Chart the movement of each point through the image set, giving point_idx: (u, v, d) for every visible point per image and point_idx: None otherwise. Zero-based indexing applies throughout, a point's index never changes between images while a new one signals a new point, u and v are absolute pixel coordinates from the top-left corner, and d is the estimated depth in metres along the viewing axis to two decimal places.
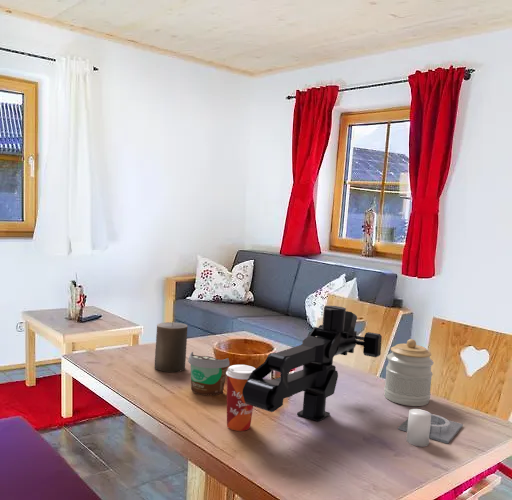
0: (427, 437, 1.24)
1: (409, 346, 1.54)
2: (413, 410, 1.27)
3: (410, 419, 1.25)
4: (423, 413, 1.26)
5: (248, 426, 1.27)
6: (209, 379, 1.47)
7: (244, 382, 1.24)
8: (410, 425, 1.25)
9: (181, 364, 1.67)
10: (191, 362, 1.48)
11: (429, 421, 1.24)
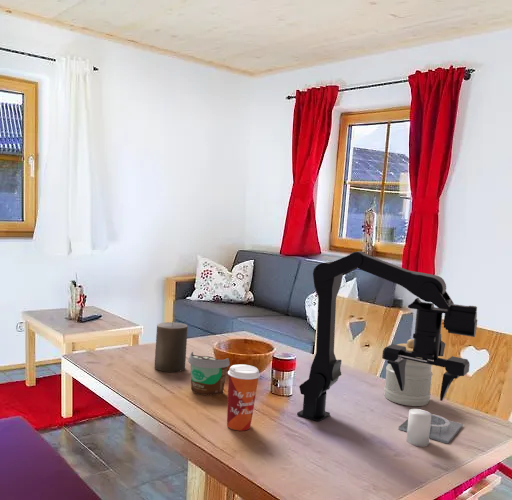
0: (427, 437, 1.24)
1: (409, 346, 1.54)
2: (413, 410, 1.27)
3: (410, 419, 1.25)
4: (423, 413, 1.26)
5: (248, 426, 1.27)
6: (209, 379, 1.47)
7: (246, 382, 1.24)
8: (410, 425, 1.25)
9: (181, 364, 1.67)
10: (191, 362, 1.48)
11: (429, 421, 1.24)
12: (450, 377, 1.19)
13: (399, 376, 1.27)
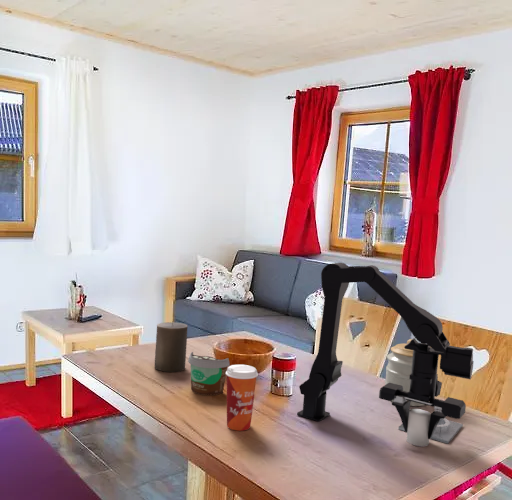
0: (427, 437, 1.24)
1: None
2: (413, 410, 1.27)
3: (410, 419, 1.25)
4: (423, 413, 1.26)
5: (248, 426, 1.27)
6: (209, 379, 1.47)
7: (244, 382, 1.24)
8: (410, 425, 1.25)
9: (181, 364, 1.67)
10: (191, 362, 1.48)
11: (429, 421, 1.24)
12: (437, 417, 1.21)
13: (404, 418, 1.26)
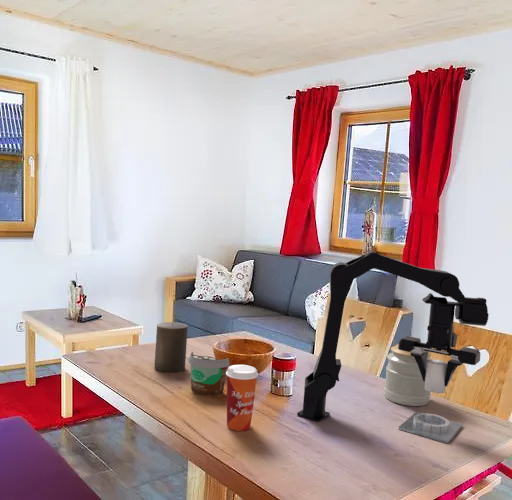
0: (444, 384, 1.32)
1: None
2: (430, 360, 1.35)
3: (428, 368, 1.33)
4: (440, 362, 1.34)
5: (248, 426, 1.27)
6: (209, 379, 1.47)
7: (244, 382, 1.24)
8: (428, 374, 1.33)
9: (181, 364, 1.67)
10: (191, 362, 1.48)
11: (446, 369, 1.32)
12: (454, 364, 1.29)
13: (422, 367, 1.34)
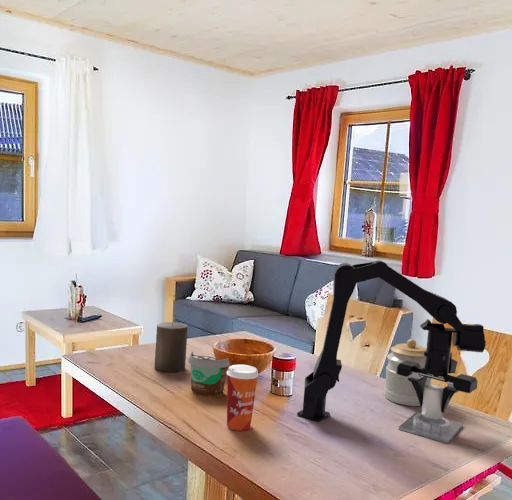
0: (440, 411, 1.33)
1: (409, 346, 1.54)
2: (428, 386, 1.36)
3: (425, 393, 1.34)
4: (437, 388, 1.34)
5: (248, 426, 1.27)
6: (209, 379, 1.47)
7: (244, 382, 1.24)
8: (425, 399, 1.34)
9: (181, 364, 1.67)
10: (191, 362, 1.48)
11: (442, 396, 1.33)
12: (449, 391, 1.29)
13: (419, 393, 1.35)
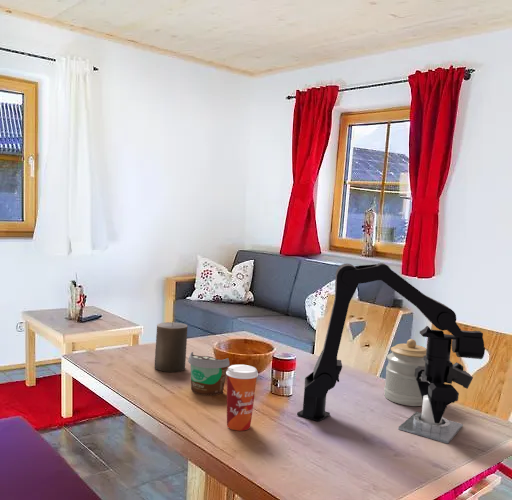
0: (431, 421, 1.33)
1: (409, 346, 1.54)
2: None
3: None
4: None
5: (248, 426, 1.27)
6: (209, 379, 1.47)
7: (244, 382, 1.24)
8: None
9: (181, 364, 1.67)
10: (191, 362, 1.48)
11: None
12: (429, 398, 1.28)
13: (421, 393, 1.40)
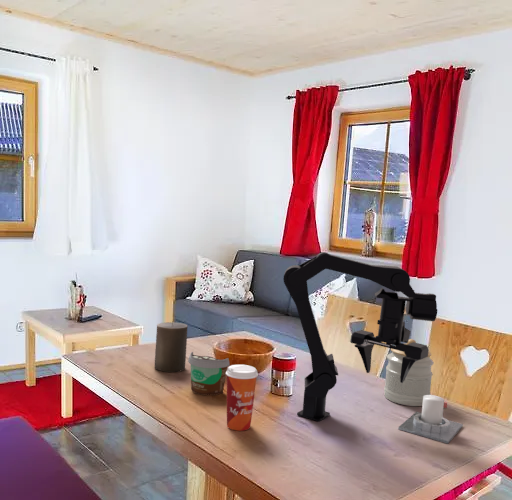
0: (431, 421, 1.33)
1: None
2: (433, 396, 1.37)
3: None
4: (435, 399, 1.34)
5: (248, 426, 1.27)
6: (209, 379, 1.47)
7: (244, 382, 1.24)
8: None
9: (181, 364, 1.67)
10: (191, 362, 1.48)
11: (433, 406, 1.33)
12: (408, 360, 1.29)
13: (365, 359, 1.37)
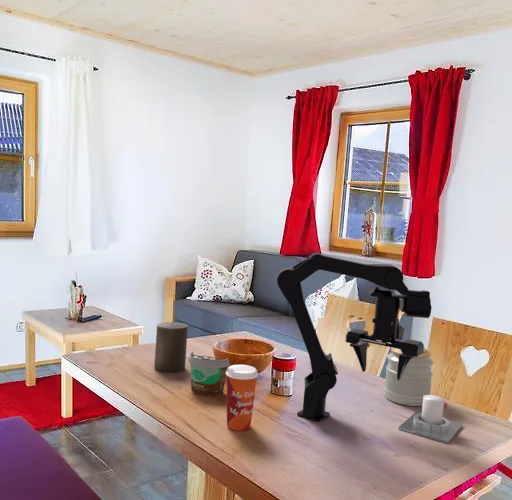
0: (431, 421, 1.33)
1: None
2: (433, 396, 1.37)
3: None
4: (435, 399, 1.34)
5: (248, 426, 1.26)
6: (209, 379, 1.47)
7: (244, 382, 1.24)
8: None
9: (181, 364, 1.67)
10: (191, 362, 1.48)
11: (433, 406, 1.33)
12: (405, 358, 1.30)
13: (360, 358, 1.37)
